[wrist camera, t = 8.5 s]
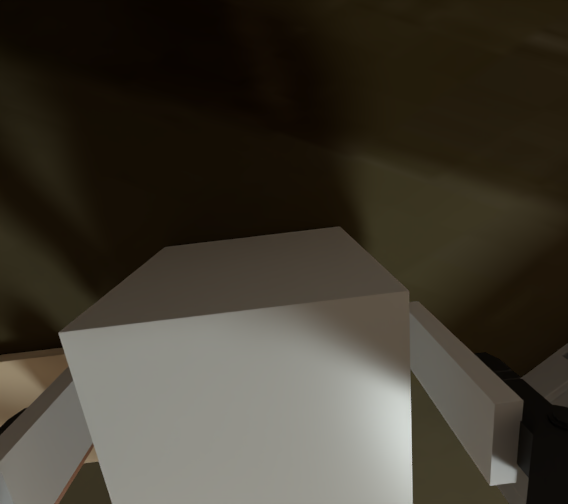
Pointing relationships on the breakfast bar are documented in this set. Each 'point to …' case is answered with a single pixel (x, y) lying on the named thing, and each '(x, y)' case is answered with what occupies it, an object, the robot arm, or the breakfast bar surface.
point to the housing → (250, 375)
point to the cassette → (553, 387)
